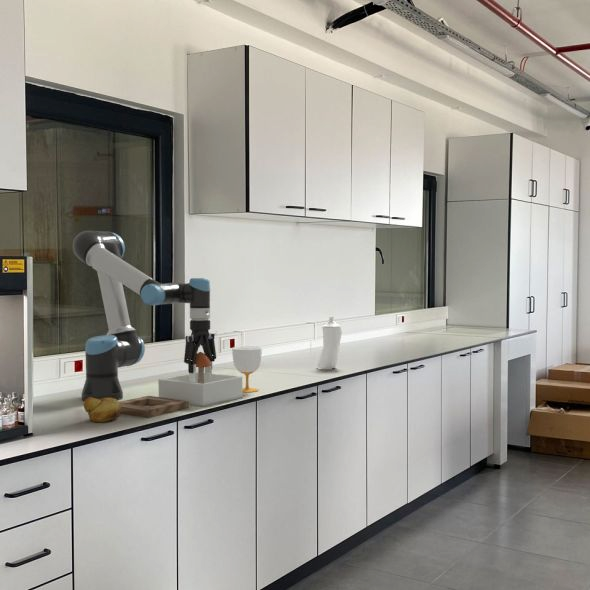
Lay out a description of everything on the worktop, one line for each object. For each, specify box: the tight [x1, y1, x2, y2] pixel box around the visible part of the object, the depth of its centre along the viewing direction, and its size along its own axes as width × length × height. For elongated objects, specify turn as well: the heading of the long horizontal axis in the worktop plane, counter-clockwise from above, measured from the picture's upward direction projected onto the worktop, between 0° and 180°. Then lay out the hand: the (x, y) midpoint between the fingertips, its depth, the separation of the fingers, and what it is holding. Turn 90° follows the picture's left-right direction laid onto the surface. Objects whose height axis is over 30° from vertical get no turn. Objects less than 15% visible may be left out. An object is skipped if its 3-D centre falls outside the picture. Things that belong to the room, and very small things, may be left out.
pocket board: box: [118, 395, 190, 419], centre depth 262 cm, size 20×20×2 cm
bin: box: [158, 371, 243, 408], centre depth 282 cm, size 22×22×8 cm
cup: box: [231, 346, 263, 393], centre depth 301 cm, size 12×12×17 cm
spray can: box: [316, 316, 343, 370], centre depth 364 cm, size 12×11×25 cm
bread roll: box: [83, 397, 121, 423], centre depth 246 cm, size 13×10×8 cm
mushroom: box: [194, 351, 211, 384], centre depth 282 cm, size 8×8×15 cm
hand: (200, 380), depth 282 cm, fingers closed on mushroom, 8 cm apart
